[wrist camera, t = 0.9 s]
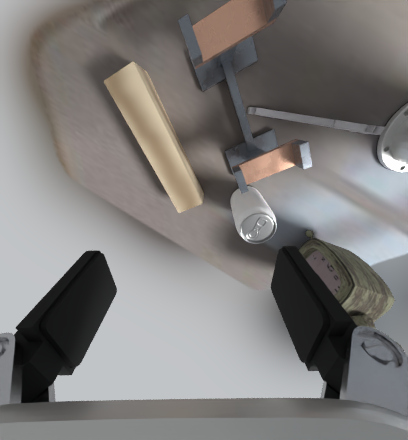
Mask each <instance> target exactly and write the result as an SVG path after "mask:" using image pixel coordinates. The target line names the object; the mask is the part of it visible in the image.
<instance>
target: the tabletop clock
mask: <svg viewBox="0 0 408 440" xmlns="http://www.w3.org/2000/svg"><path fill="white" fill-rule="evenodd" d="M313 235H314V233H313V231H311V230H308V231H306V236H307V237H310V240H308V241H307V242H306V243H305V244H304V245H303V246H302V247H301V248H300V249H299V252H300V253H301V254H302V255H303V257H304V258H305V259H306V261H307V262H308V263H309V265H310V266H311V267H312V269H313V270H314V271H315V272H316V273H317V274H318V275H319V277H320V278H321V279H322V281H323V282H324V283H325V284H326V286H327V287H328V288H329V290H330V291H331V292H332V294H333V295H334V296H335V298H336V299H337V300H338V301H339V303H340V304H341V305H342V307H343V308H344V309H345V311H346V312H347V313H348V315H349V316H350V317H351V319H352V320H353V321H354V322H355V324H356V325H357V326H367V327H372V328H374V329H376V328H375V325H374V322H375V321H376V320H377V319H379V318H380V317H381V316H382V315H384V314H385V313H386V312H387V311H388V310H390V308H391V307H392V306H393V303H394V301H395V300H394V297H393V295H392V293H391V291H390V289H389V288H388V287H387V285H386V284H385V282H384V281H383V280H382V279H381V277H380V276H379V275H378V274H377V273H376V272H375V271H374V270H373V269H372V268H371V267H370V266H369V265H368V264H367V263H366V262H364V261H363V260H362V259H360V258H359V257H358V256H357V255H355V254H354V253H352V252H350V251H349V250H346V249H344V248H341V247H338V246H335V245H333V244H330V243H327V242H324V241H322V240H319V239H316V238H313V237H312V236H313ZM396 343H397V342H396ZM397 344H398V343H397ZM398 345H399V344H398ZM399 346H400V345H399ZM400 347H401V346H400ZM401 348H402V347H401ZM403 351H404V350H403Z"/></svg>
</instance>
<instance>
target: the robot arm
mask: <svg viewBox="0 0 408 440" xmlns="http://www.w3.org/2000/svg"><path fill="white" fill-rule="evenodd" d="M377 155H378V159H379V161H380V163H381V164H382V165H383V166H384V167H386V168H387V169H389V170H393V171H396V172H408V103H407V104H405V105H404V106H403V107H401V108H400V109H399V110H398V111H397V112H396V113H395V114H394V115H393V117H392V118H391V119H390V120H389V121H388V123H387V124H386V126H385V128H384V130H383V131H382V133H381V135H380V138H379V141H378V145H377ZM271 290H272V293H273V295H274V298H275V300H276V303H277V305H278V308H279V310H280V312H281V315H282V317H283V320H284V322H285V324H286V327H287V329H288V332H289V334H290V337H291V339H292V341H293V344H294V346H295V349H296V351H297V354H298V356H299V358H300V360H301V361H302V362H303V363H305V364H306V366H307V369H308V371H319V373H320V375H321V377H322V379H323V380H324V383H323V388H322V393H321V398H236V399H169V400H114V401H113V400H112V401H66V402H55V391H54V381H55V379H56V377H57V375H72V373H73V371H74V369H75V368H76V366H78V365H79V364H80V363H81V362H82V359H83V358H84V356H85V354H86V352H87V350H88V348H89V346H90V344H91V342H92V340H93V338H94V336H95V334H96V332H97V330H98V328H99V326H100V324H101V322H102V321H103V319H104V317H105V315H106V313H107V311H108V309H109V307H110V305H111V303H112V301H113V299H114V297H115V295H116V292H117V288H116V285H115V283H114V280H113V278H112V275H111V272H110V269H109V267H108V264H107V261H106V259H105V256H104V254H102V253H101V252H100V251H86V252H85V253H84V254H83V255H82V256H81V257H80V258H79V259H78V260H77V261H76V263H75V264H74V265H73V266H72V267H71V268H70V269H69V270H68V271H67V272H66V274H64V276H63V277H62V278H61V279H60V280H59V281H58V282H57V283H56V284H55V285H54V286H53V288H52V289H51V290H50V291H49V292H48V293H47V294H46V295H45V296H44V297H43V299H42V300H41V301H40V302H39V303H38V304H37V305H36V306H35V307H34V308H33V309H32V310H31V311H30V313H29V314H28V315H27V316H26V317H25V318H24V319H23V320H22V321H21V322H20V323H19V325H18V326H17V327H16V329H17V330H18V331H17V332H16V333H15V334H14V335H13V334H12V333H2V334H0V440H408V357H407V355H406V354H405V352H404V351H403V349H402V348H401V347H400V346H399V345H398V344H397V343H396V342H395V341H394V340H393V339H391V338H390V337H389V336H388V335H386V334H384V333H383V332H381V331H379V330H377V329H374V328H372V327H367V326H357V325H356V324H355V322H354V321H353V320H352V319H351V317H350V316H349V315H348V313H347V312H346V311H345V309H344V308H343V307H342V305H341V304H340V303H339V301H338V300H337V299H336V298H335V296H334V295H333V294H332V292H331V291H330V290H329V288H328V287H327V286H326V284H325V283H324V282H323V281H322V279H321V278H320V277H319V275H318V274H317V273H316V272H315V271H314V270H313V269H312V267H311V266H310V265H309V263H308V262H307V261H306V259H305V258H304V257H303V255H302V254H301V253H300V252H299V250H298V249H297V248H296V247H295V246H284V247H283V248H282V249H280V250H279V252H278V256H277V261H276V265H275V269H274V274H273V278H272V283H271Z"/></svg>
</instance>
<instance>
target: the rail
mask: <svg viewBox="0 0 408 440" xmlns="http://www.w3.org/2000/svg"><path fill="white" fill-rule="evenodd" d="M103 82H104V83H105V85H106V87H107V89H108V90H109V92H110V94H111V96H112V97H113V99H114V101H115V103H116V104H117V106H118V108H119V110H120V111H121V113H122V115H123V116H124V118H125V120H126V122H127V123H128V125H129V127H130V129H131V130H132V132H133V134H134V136H135V137H136V139H137V141H138V143H139V144H140V146H141V148H142V150H143V151H144V153H145V155H146V157H147V158H148V160H149V162H150V164H151V165H152V167H153V169H154V171H155V172H156V174H157V176H158V178H159V179H160V181H161V183H162V185H163V186H164V188H165V190H166V192H167V193H168V195H169V197H170V199H171V200H172V202H173V204H174V206H175V207H176V209H177V211H178V212H179V213H180V212H183V211H185V210H188V209H190V208H193V207H195V206H198V205H200V204H203V196H204V192H203V190H202V188H201V186H200V183H199V181H198V179H197V177H196V175H195V173H194V171H193V169H192V166H191V164H190V162H189V160H188V158H187V156H186V154H185V152H184V149H183V147H182V145H181V143H180V141H179V139H178V137H177V135H176V132H175V130H174V128H173V126H172V124H171V122H170V120H169V118H168V115H167V113H166V111H165V109H164V107H163V105H162V103H161V101H160V98H159V96H158V94H157V92H156V90H155V88H154V86H153V84H152V81H151V79H150V77H149V75H148V73H147V72H146V71H145V70H144V69H142V68H141V67H140V66H139V65H137V64H136V63H135V62H134V61H133V62H131V63H130V64H128V65H127V66H125V67H124V68H122V69H121V70H119V71H118V72H116V73H115V74H113V75H112V76H110V77H109V78H107V79H106V80H104V81H103Z"/></svg>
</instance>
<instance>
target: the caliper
mask: <svg viewBox="0 0 408 440" xmlns="http://www.w3.org/2000/svg"><path fill="white" fill-rule="evenodd" d="M247 114H253V115H259V116H264V117H270V118H277V119H283V120H289V121H295V122H301V123H307V124H313V125H319V126H325V127H329V128H336V129H342V130H348V131H349V132H358V133H361V134H373V135H381V133H382V131H383V130H384V128H385V127H382V126H376V125H366V124H359V123H353V122H347V121H340V120H332V119H326V118H320V117H313V116H307V115H301V114H294V113H288V112H282V111H276V110H269V109H263V108H255V107H248V110H247Z"/></svg>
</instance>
